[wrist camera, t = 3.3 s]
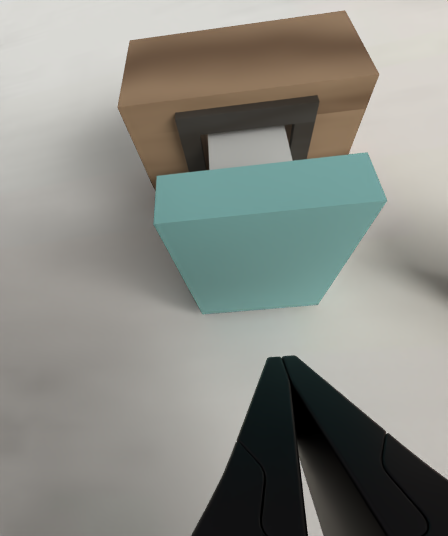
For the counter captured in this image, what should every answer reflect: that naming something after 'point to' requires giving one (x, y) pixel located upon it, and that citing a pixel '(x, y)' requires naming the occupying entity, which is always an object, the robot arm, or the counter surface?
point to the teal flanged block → (264, 221)
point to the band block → (246, 89)
